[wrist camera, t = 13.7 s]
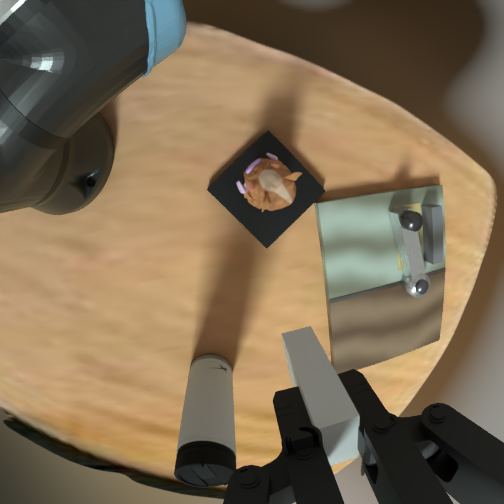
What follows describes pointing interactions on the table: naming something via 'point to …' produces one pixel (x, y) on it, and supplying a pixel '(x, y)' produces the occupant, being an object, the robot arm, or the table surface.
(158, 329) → the table surface
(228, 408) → the travel mug
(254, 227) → the figurine
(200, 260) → the table surface
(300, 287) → the table surface
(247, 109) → the table surface
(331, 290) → the door board
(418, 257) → the bar
